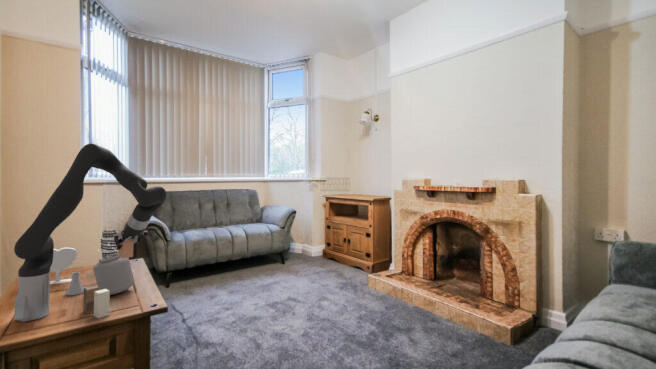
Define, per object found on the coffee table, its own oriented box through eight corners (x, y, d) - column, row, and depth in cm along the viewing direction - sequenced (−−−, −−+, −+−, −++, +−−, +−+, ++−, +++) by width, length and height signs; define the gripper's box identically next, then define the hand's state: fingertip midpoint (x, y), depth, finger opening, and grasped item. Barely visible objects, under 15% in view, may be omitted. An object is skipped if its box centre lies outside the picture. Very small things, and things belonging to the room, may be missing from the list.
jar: (85, 301, 139) (86, 246, 139) (89, 291, 152) (90, 241, 152) (134, 294, 149) (135, 243, 149) (134, 285, 162) (135, 238, 162)
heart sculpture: (37, 286, 157) (38, 251, 157) (37, 283, 161) (38, 249, 160) (76, 280, 168) (77, 247, 168) (75, 278, 171) (76, 246, 171)
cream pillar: (109, 314, 126) (109, 290, 126) (97, 318, 123) (98, 293, 123) (105, 312, 128) (105, 288, 128) (93, 315, 125) (94, 291, 125)
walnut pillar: (98, 310, 130) (98, 287, 130) (86, 314, 126) (87, 289, 126) (94, 308, 132) (95, 285, 132) (83, 311, 129) (83, 287, 129)
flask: (73, 296, 145) (74, 275, 145) (61, 295, 146) (62, 274, 146) (88, 291, 152) (89, 271, 152) (76, 290, 153) (77, 270, 153)
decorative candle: (95, 271, 184) (96, 230, 184) (109, 267, 193) (110, 228, 193) (108, 272, 183) (109, 230, 183) (121, 268, 192) (122, 228, 192)
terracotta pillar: (133, 256, 136) (133, 234, 136) (123, 258, 132) (123, 235, 132) (129, 255, 138) (129, 233, 138) (119, 257, 135) (119, 234, 135)
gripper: (152, 214, 137) (138, 238, 144) (116, 216, 125) (103, 242, 132) (158, 227, 134) (143, 251, 141) (121, 231, 122) (108, 257, 129)
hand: (124, 247), depth 136 cm, fingers closed on terracotta pillar, 4 cm apart
